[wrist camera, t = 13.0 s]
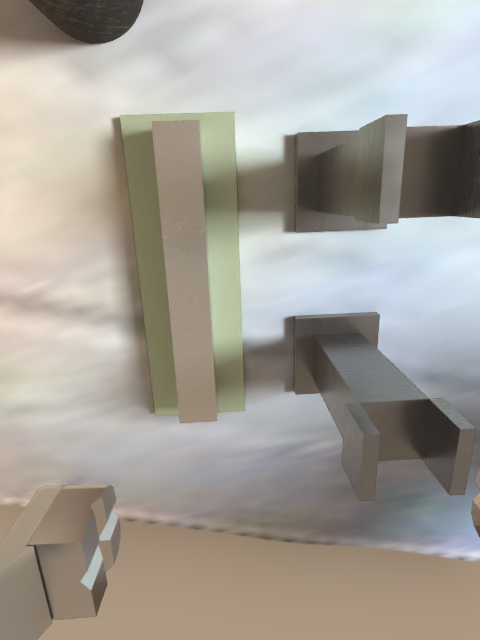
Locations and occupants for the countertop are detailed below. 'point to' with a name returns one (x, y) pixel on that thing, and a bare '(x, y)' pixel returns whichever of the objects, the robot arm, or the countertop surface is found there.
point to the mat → (220, 245)
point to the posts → (362, 328)
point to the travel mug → (91, 17)
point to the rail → (187, 265)
